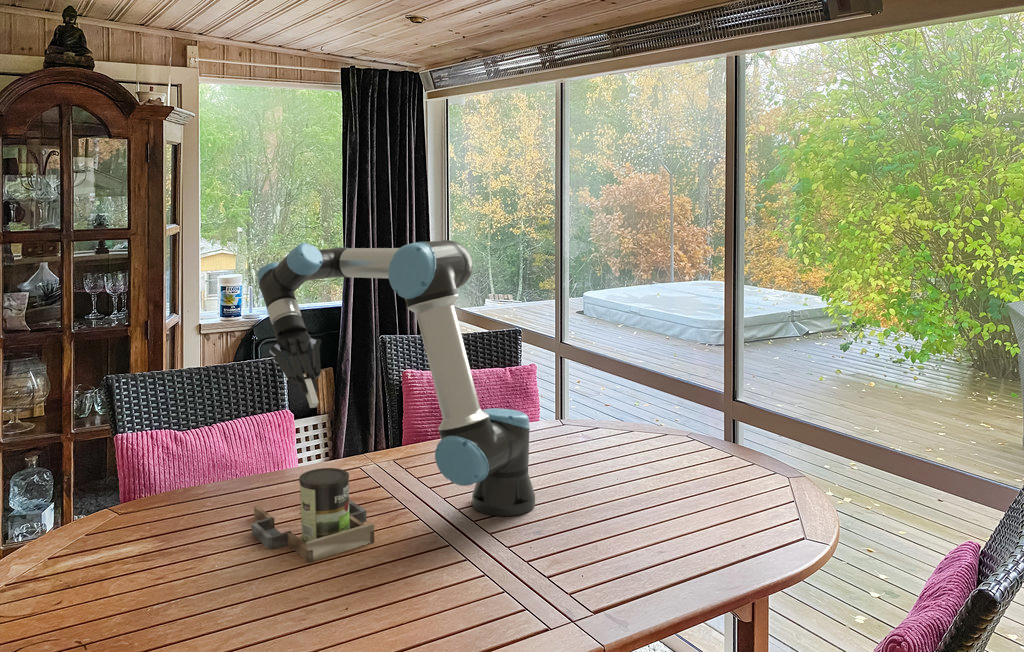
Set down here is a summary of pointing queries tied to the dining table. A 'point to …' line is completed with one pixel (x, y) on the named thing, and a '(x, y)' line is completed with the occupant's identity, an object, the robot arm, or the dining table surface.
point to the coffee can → (324, 502)
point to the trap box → (318, 547)
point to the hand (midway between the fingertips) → (314, 405)
